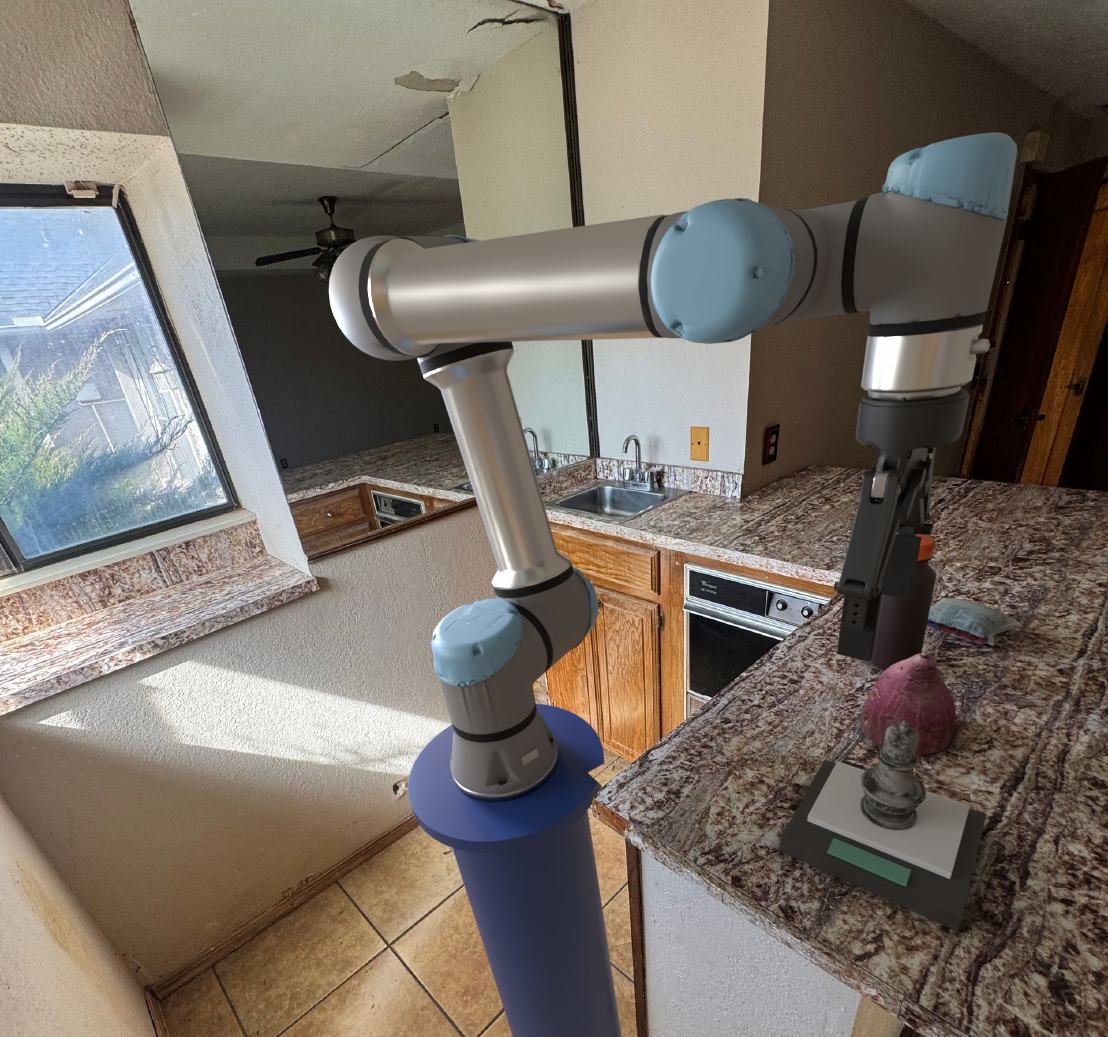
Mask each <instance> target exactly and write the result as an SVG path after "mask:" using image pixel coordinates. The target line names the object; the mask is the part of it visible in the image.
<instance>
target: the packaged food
mask: <svg viewBox="0 0 1108 1037" xmlns="http://www.w3.org/2000/svg"><path fill="white" fill-rule="evenodd" d="M927 628H928V629H929V630H930V629H931V630H933V631H938V632H941V633H944V634H947V635H950V636H953V637H955V638H958V639H960V640H964V641H967V642H970V643H975V644H979V645H984V644H989V645H991V646H993V647H994V645H995V637H994V636H997V635H999V634H1001V633H1004V632H1006V631H1009V630H1013V629H1014V628H1017V629H1019V628H1023V624H1022V623H1021V622H1020V621H1017V619H1015V618H1014V617H1012V616H1007V615H1006V613H1004V611H1001V610H999V609H996V608H992V607H991V606H986V605H983V604H981V603H978V602H973V601H968V600H967V599H962V598H955V597H950V598H948V597H945V596H943V597H942V598H941V599H940V600H939V601H937V602H936V603H934V604H933V605H932V606H930V611H929V616H928V622H927V627H926V629H927Z"/></svg>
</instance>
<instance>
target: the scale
mask: <svg viewBox="0 0 1108 1037" xmlns="http://www.w3.org/2000/svg"><path fill="white" fill-rule="evenodd" d="M865 770H866V769H861V768H859V767H856V766H853V765H851V764H847V763H844V762H841V761H836V762H834V761H832V760H829V759H824V760H823V762H822V764H821V765H820V768H819V769H818V771H817V773H816V774H815V776H814V778H813V780H812V782H811V783H810V784H809V786H808V788H807V790H806V792H805V794H804V796H803V797H802V798H801V801H800V803H799V804H798V806H797V808H796V810H795V811H794V813H793V815H792V817H791V818H790V820H789V821H788V824H787V825H786V827H785V829H784V830H783V833H782V834H781V836H780V843H779V852H780V853H783V854H785V855H787V856H789V857H792V858H794V859H796V860H799V861H800V862H802V863H804V864H807V865H810V866H812V867H814V868H816V869H817V870H821V871H822V872H825V873H827V874H829V875H831V876H834V877H836V878H838V879H841V880H843V881H845V882H846V883H849V884H852V885H853V886H856V887H858V888H861V889H863V890H865V891H867V892H870V893H872V894H874V895H876V896H878V897H880V898H883V899H885V900H887V901H889V902H891V903H894V904H896V905H898V906H900V907H902V908H904V909H907V910H909V911H910V912H913V913H916V914H918V915H920V916H922V917H924V918H926V919H929V920H930V921H933V922H935V923H937V924H939V925H942V926H944V927H946V928H948V929H951V930H953V931H955V932H959V929H960V926H961V923H962V919H963V917H964V916H963V915H964V912H965V909H966V905H967V899H968V896H969V892H970V887H971V882H972V879H973V874H974V870H975V867H976V861H977V858H978V854H979V849H980V845H981V840H982V837H983V832H984V828H985V824H986V819H987V815H988V814H987V813H986V812H982V811H980V810H976V809H974V808H971V805H969V804H966V803H963V802H960V801H958V800H954V799H953V798H952V799H951V798H949V797H946V796H943V795H940V794H937V793H933V792H931V791H928V790H926V797H925V800H924V801H923V802H922V803H921V804H919V806H918V807H917V808H916V809H915V810H916V813H917V820H916V823H915V824H914V825H913V826H912V827H910V828H909V829H905V830H890V829H885V828H882V827H879V826H877V825H876V824H874V823H872V822H871V821H869V820H868V819H867V818H866V817H865V816H864V815H863V814H862V812H861V810H860V801H861V798H862V797H863V796H864V795H865V794H864V792H863V788H862V786H861V782H860V778H861V775H862V773H863V772H864V771H865Z"/></svg>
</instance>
